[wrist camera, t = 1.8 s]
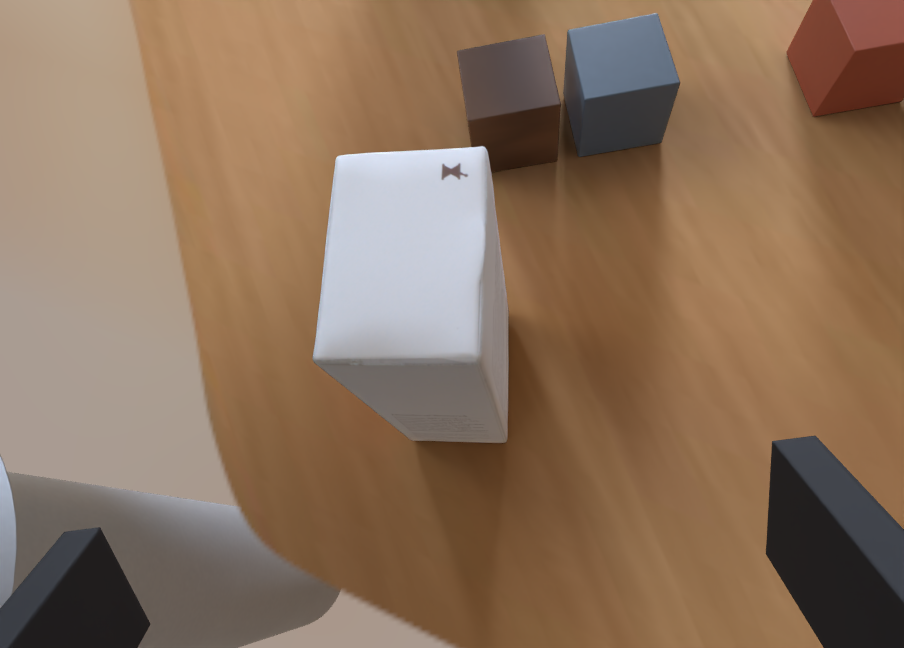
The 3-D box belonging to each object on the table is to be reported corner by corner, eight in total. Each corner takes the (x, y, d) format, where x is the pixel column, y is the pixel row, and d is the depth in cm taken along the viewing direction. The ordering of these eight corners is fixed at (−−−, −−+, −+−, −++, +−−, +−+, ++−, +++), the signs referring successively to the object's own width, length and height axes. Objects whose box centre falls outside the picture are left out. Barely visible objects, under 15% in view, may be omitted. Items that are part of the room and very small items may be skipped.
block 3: (812, 117, 28) (855, 51, 24) (785, 52, 30) (821, -19, 26) (901, 102, 28) (958, 32, 24) (869, 37, 29) (918, -37, 26)
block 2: (578, 157, 29) (584, 100, 25) (563, 93, 30) (567, 29, 27) (661, 143, 29) (681, 82, 25) (642, 78, 30) (657, 12, 26)
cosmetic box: (415, 311, 27) (333, 146, 16) (509, 310, 27) (492, 138, 16) (406, 446, 25) (304, 363, 14) (508, 448, 25) (487, 363, 13)
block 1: (475, 175, 29) (467, 121, 26) (466, 110, 31) (456, 50, 27) (557, 161, 29) (561, 104, 25) (543, 96, 31) (545, 33, 27)
